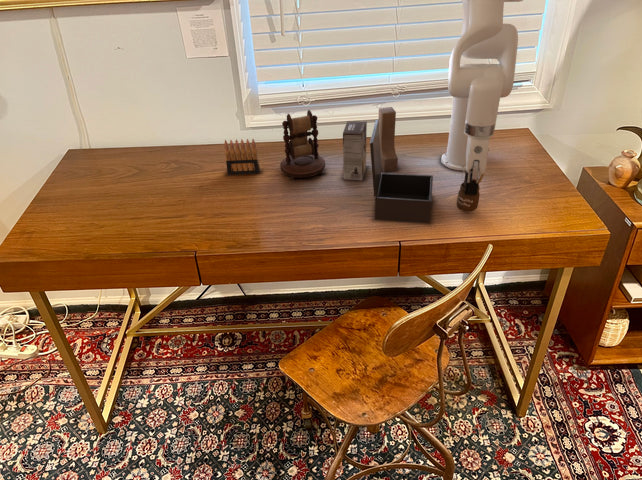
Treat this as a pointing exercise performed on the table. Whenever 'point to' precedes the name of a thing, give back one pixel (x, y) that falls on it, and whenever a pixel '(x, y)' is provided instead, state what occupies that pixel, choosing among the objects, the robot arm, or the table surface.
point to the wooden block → (387, 138)
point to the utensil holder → (468, 198)
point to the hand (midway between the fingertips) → (470, 188)
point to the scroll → (301, 147)
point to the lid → (375, 157)
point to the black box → (404, 198)
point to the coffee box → (354, 150)
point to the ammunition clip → (237, 160)
